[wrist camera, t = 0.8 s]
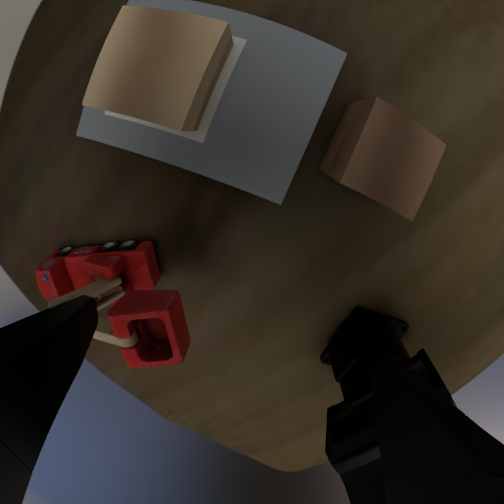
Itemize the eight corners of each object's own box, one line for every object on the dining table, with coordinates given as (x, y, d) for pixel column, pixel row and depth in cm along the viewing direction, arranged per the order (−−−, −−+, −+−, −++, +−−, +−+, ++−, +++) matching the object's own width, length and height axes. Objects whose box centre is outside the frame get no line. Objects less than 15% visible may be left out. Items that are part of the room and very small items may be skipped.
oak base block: (234, 44, 14) (228, 22, 10) (197, 130, 16) (180, 131, 12) (147, 26, 13) (123, 5, 9) (114, 107, 15) (81, 105, 11)
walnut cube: (405, 138, 17) (446, 144, 12) (378, 199, 19) (412, 221, 14) (346, 103, 16) (377, 96, 11) (317, 169, 18) (339, 182, 13)
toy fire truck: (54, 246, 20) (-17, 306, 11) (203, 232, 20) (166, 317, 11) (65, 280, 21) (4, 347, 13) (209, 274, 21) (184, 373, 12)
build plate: (342, 57, 14) (347, 53, 14) (279, 201, 19) (280, 205, 18) (137, -1, 12) (132, -6, 11) (83, 134, 16) (76, 135, 16)
